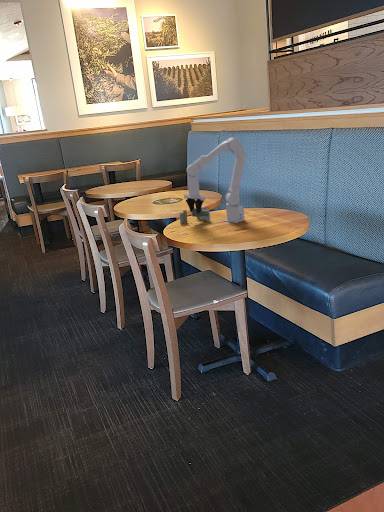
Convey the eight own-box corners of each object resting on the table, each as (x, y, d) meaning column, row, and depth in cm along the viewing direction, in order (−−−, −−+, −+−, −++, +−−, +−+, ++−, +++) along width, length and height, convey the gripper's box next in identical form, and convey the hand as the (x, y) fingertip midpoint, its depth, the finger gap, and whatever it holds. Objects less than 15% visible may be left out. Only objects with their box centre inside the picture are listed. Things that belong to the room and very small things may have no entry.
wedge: (197, 217, 242) (197, 209, 241) (192, 216, 245) (192, 208, 244) (208, 215, 247) (208, 208, 246) (202, 214, 250) (202, 207, 249)
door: (199, 218, 256) (198, 209, 254) (210, 220, 249) (209, 210, 248) (197, 219, 255) (196, 209, 253) (208, 221, 248) (207, 211, 247)
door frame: (207, 216, 260) (207, 204, 258) (182, 224, 248) (181, 211, 245) (205, 216, 261) (205, 204, 259) (180, 223, 249) (179, 211, 247)
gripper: (179, 187, 242) (181, 212, 246) (197, 189, 231) (199, 215, 236) (188, 185, 246) (190, 209, 250) (207, 187, 236) (208, 212, 240)
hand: (195, 212), depth 243 cm, fingers closed on wedge, 4 cm apart
